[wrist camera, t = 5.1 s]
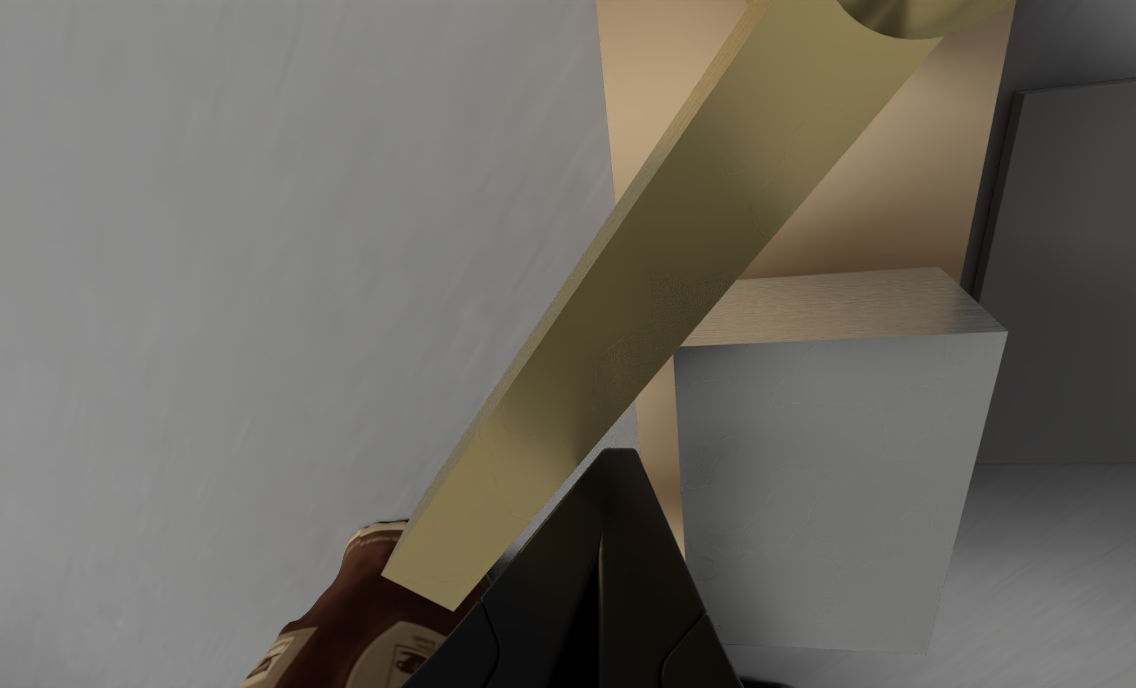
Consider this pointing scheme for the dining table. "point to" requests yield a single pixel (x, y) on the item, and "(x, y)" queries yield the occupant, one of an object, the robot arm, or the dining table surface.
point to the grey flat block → (831, 453)
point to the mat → (1064, 278)
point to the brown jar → (361, 625)
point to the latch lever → (668, 259)
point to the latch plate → (843, 197)
